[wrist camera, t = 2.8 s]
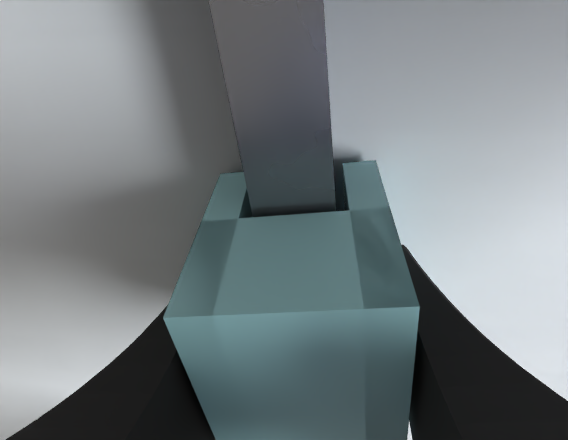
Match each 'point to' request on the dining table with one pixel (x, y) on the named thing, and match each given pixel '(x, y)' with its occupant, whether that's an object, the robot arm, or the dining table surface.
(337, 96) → the dining table surface
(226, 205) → the block
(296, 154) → the rail
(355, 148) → the dining table surface
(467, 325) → the robot arm
